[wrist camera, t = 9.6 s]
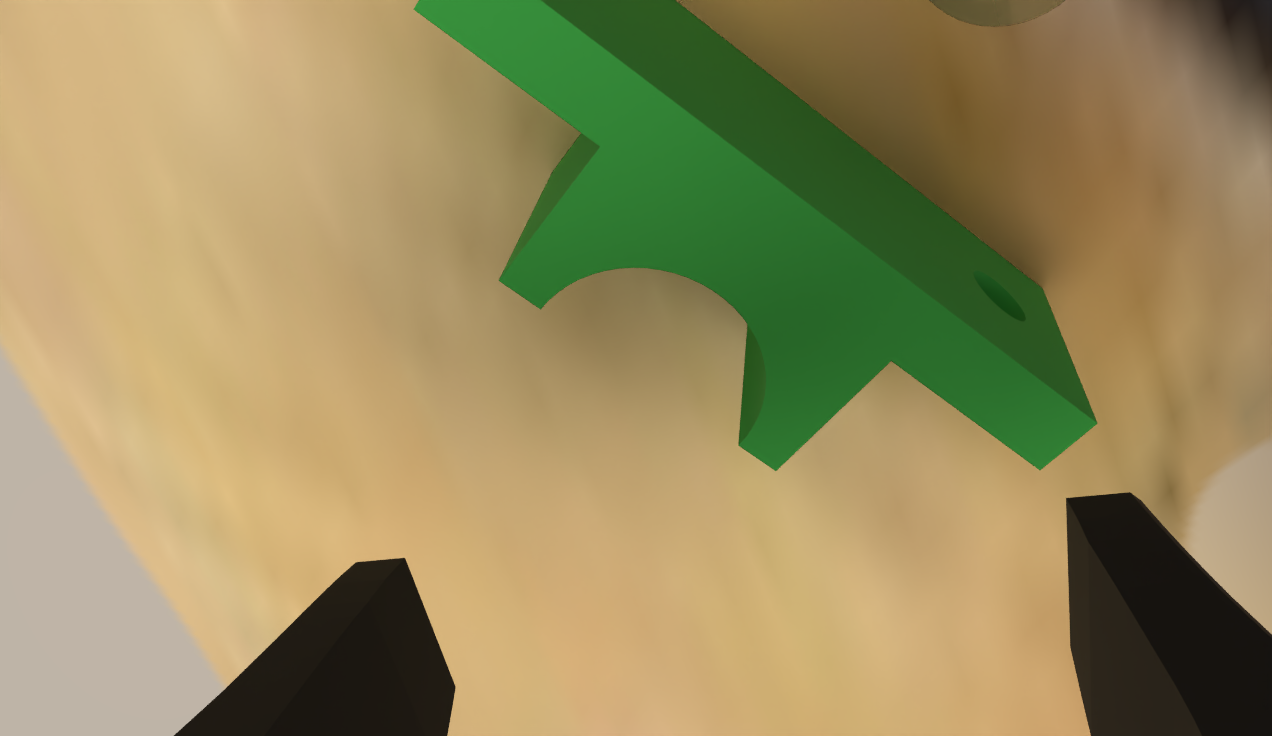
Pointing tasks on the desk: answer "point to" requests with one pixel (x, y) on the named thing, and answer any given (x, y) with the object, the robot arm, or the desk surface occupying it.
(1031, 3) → the short pin
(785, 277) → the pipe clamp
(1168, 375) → the desk surface
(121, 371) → the desk surface
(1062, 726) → the desk surface
